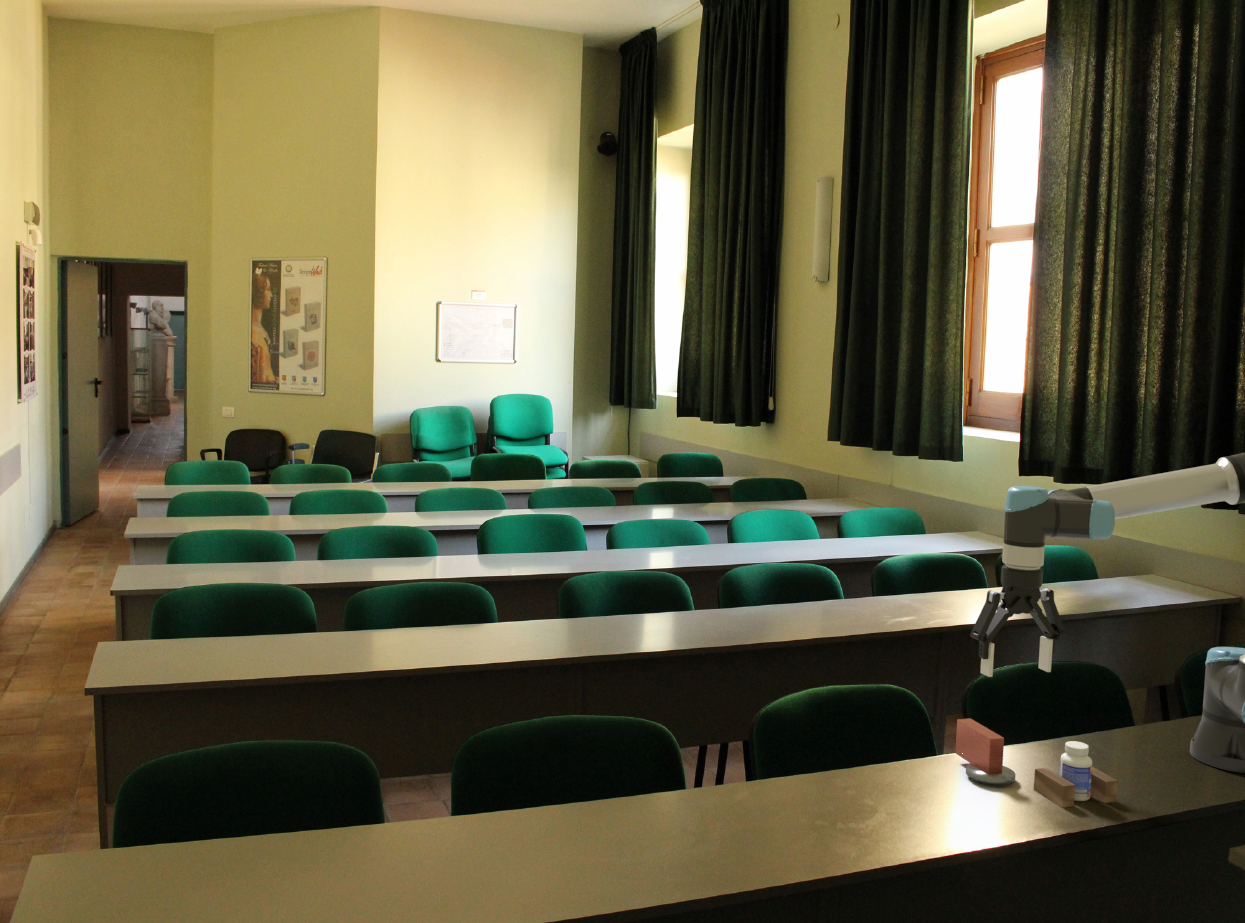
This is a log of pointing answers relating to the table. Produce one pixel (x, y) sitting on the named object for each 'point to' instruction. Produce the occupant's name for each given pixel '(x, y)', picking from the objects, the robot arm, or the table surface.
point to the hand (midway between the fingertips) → (1015, 672)
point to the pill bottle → (1077, 768)
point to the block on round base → (982, 753)
